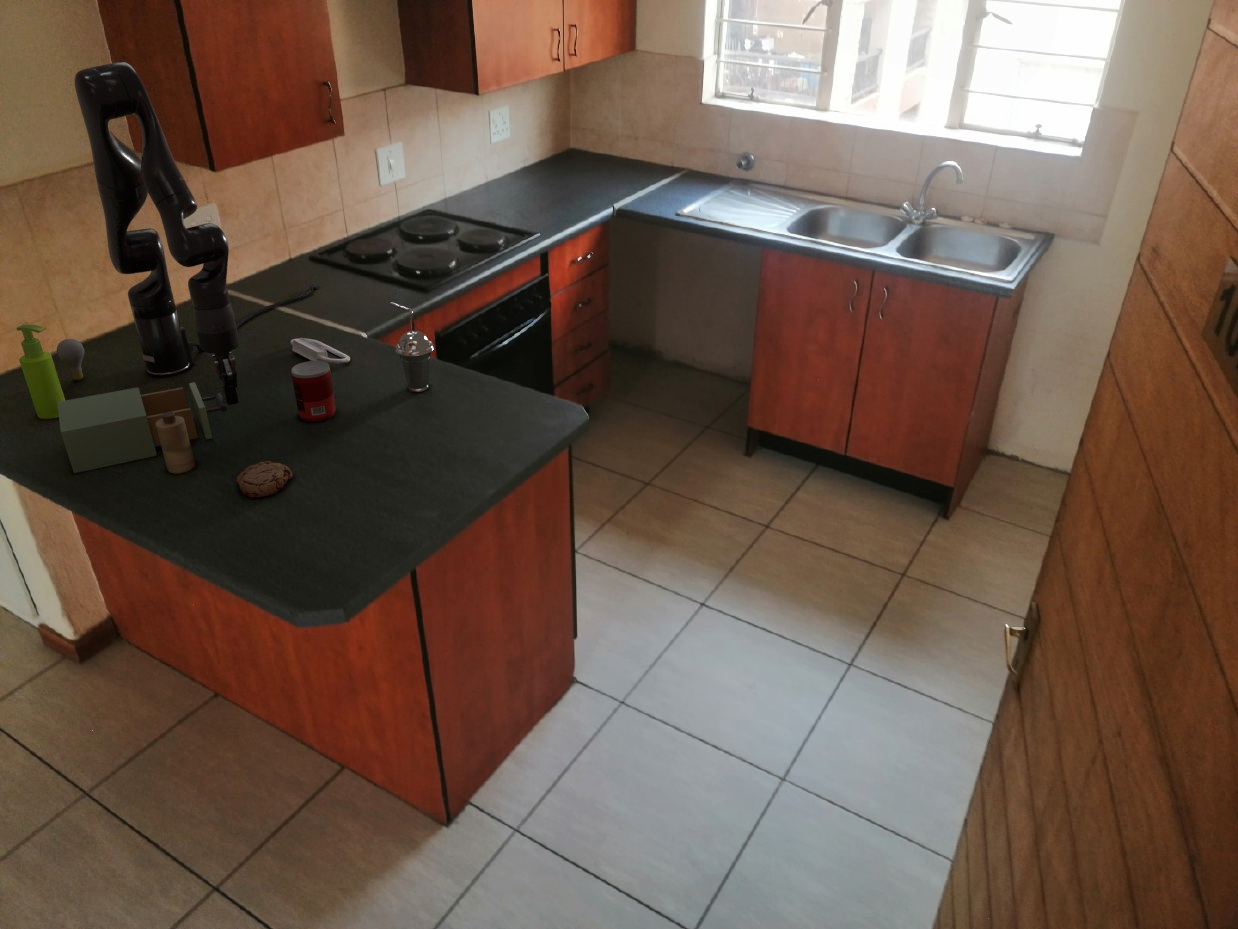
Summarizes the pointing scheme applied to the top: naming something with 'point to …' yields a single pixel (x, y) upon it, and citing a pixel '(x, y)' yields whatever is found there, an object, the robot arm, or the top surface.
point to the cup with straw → (414, 355)
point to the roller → (175, 443)
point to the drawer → (180, 409)
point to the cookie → (263, 479)
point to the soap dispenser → (40, 374)
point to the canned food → (313, 390)
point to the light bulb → (72, 356)
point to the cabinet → (105, 429)
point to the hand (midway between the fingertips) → (232, 402)
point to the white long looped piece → (316, 350)
